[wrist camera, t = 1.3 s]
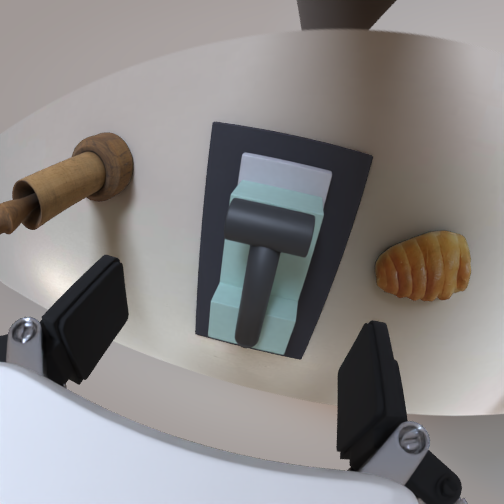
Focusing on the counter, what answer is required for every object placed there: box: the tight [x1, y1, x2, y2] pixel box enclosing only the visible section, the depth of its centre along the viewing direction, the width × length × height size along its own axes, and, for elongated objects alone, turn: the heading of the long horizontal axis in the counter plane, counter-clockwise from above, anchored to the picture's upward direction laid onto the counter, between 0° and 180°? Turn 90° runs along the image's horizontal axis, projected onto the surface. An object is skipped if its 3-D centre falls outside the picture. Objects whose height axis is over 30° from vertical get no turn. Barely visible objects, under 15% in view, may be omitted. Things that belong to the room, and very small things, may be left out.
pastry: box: [375, 230, 471, 301], centre depth 24 cm, size 9×7×4 cm
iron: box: [208, 152, 332, 355], centre depth 22 cm, size 14×7×10 cm, turn 171°
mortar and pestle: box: [0, 133, 133, 234], centre depth 19 cm, size 7×6×18 cm
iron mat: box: [195, 122, 373, 360], centre depth 28 cm, size 24×13×1 cm, turn 171°
